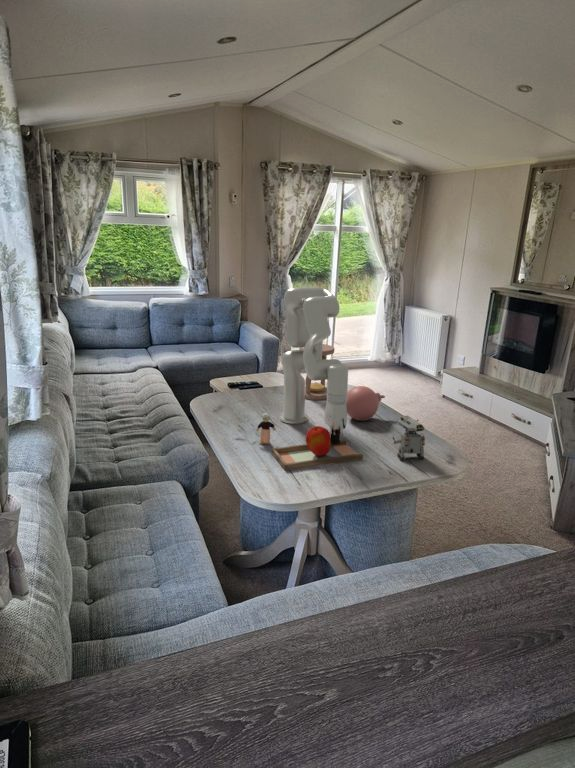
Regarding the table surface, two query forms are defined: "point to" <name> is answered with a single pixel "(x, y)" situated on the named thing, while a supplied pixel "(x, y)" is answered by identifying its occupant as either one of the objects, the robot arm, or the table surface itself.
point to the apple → (318, 440)
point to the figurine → (410, 438)
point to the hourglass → (319, 390)
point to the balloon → (362, 403)
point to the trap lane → (313, 456)
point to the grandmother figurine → (265, 429)
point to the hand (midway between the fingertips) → (335, 443)
